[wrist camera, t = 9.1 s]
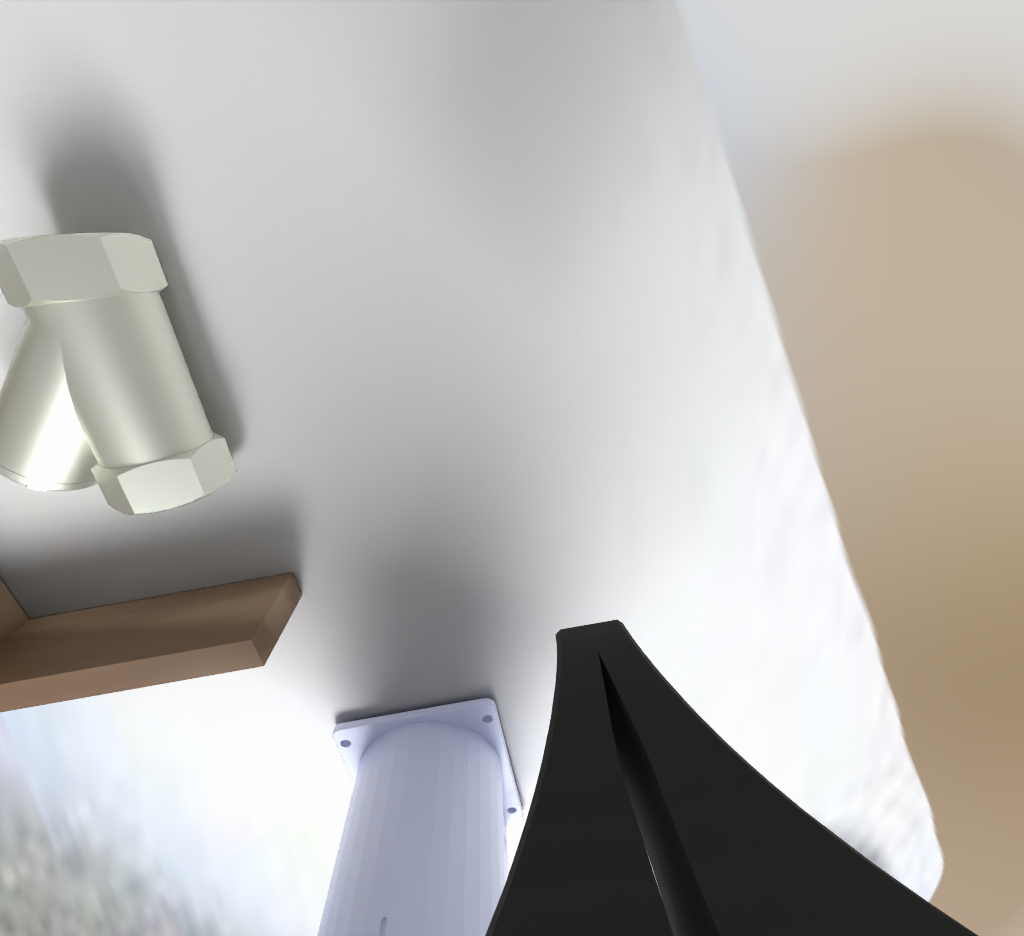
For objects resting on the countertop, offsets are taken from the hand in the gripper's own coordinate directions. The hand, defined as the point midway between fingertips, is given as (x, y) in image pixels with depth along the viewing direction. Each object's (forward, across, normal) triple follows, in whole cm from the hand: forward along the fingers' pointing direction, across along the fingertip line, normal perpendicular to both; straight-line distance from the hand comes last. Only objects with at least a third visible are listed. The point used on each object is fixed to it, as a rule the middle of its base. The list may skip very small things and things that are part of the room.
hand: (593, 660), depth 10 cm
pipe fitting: (+10, +14, -7) cm, 19 cm away
